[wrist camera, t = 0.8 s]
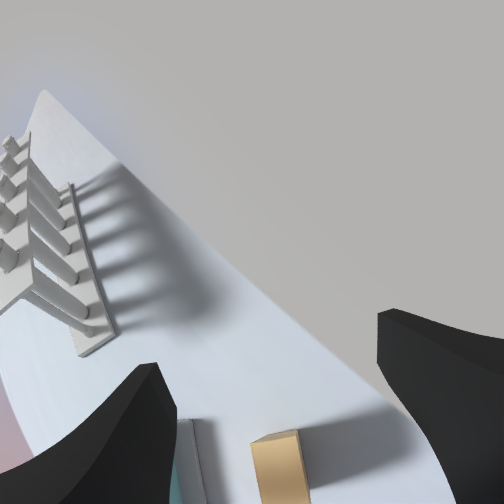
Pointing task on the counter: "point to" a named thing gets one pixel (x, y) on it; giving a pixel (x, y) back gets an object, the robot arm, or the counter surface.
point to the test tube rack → (46, 250)
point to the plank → (280, 469)
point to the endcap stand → (186, 468)
